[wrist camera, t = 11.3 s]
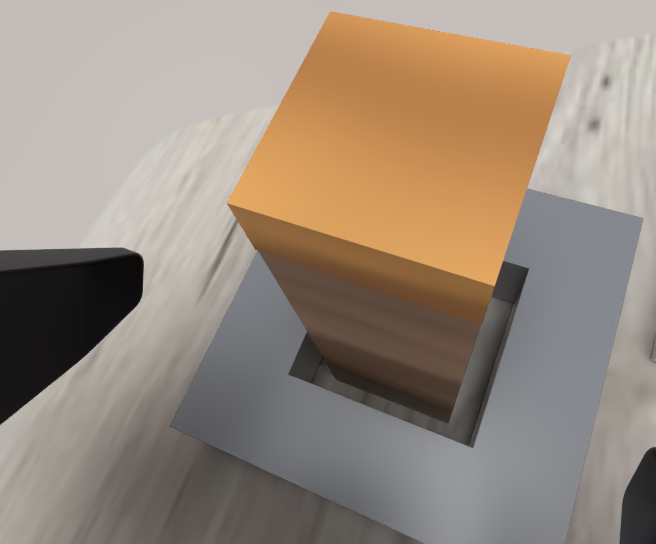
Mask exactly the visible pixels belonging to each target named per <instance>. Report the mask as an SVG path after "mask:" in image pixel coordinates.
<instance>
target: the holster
mask: <svg viewBox="0 0 656 544" xmlns="http://www.w3.org/2000/svg"><path fill="white" fill-rule="evenodd" d="M651 361H653V362H656V338H655V343H654V347H653V352H652V357H651Z"/></svg>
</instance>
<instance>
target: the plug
mask: <svg viewBox="0 0 656 544" xmlns="http://www.w3.org/2000/svg"><path fill="white" fill-rule="evenodd" d="M570 57H571V55H566V54H561V53H555V52H550V51H544V50H539V49H533V48H527V47H522V46H517V45H511V44H505V43H500V42H495V41H489V40H483V39H478V38H473V37H467V36H462V35H456V34H451V33H445V32H440V31H434V30H429V29H423V28H417V27H412V26H407V25H401V24H396V23H390V22H385V21H379V20H373V19H368V18H363V17H358V16H352V15H346V14H341V13H336V12H330V13H329V15H328V17H327V18H326V20H325V22H324V24H323V26H322V28H321V30H320V31H319V33H318V35H317V37H316V39H315V41H314V43H313V45H312V46H311V48H310V50H309V52H308V54H307V56H306V57H305V60H304V61H303V63H302V65H301V67H300V69H299V70H298V72H297V74H296V76H295V78H294V80H293V82H292V83H291V85H290V87H289V89H288V91H287V93H286V94H285V96H284V98H283V100H282V102H281V104H280V106H279V107H278V109H277V111H276V113H275V115H274V117H273V119H272V120H271V122H270V124H269V126H268V128H267V130H266V132H265V133H264V135H263V137H262V139H261V141H260V143H259V145H258V146H257V148H256V150H255V152H254V154H253V156H252V157H251V159H250V161H249V163H248V165H247V167H246V169H245V170H244V172H243V174H242V176H241V178H240V180H239V182H238V183H237V185H236V187H235V189H234V191H233V193H232V195H231V196H230V198H229V200H228V202H227V204H228V206H229V207H230V209H231V211H232V212H233V214H234V216H235V217H236V219H237V220H238V222H239V224H240V225H241V227H242V229H243V230H244V232H245V233H246V235H247V237H248V238H249V240H250V242H251V243H252V245H253V246H254V248H255V250H258V252H259V253H260V255H261V256H262V258H263V260H264V261H265V263H266V265H267V266H268V268H269V270H270V271H271V273H272V275H273V276H274V278H275V279H276V281H277V283H278V284H279V286H280V288H281V289H282V291H283V293H284V294H285V296H286V298H287V299H288V301H289V302H290V304H291V306H292V307H293V309H294V311H295V312H296V314H297V316H298V317H299V319H300V320H301V322H302V324H303V325H304V327H305V329H306V330H307V332H308V334H309V335H310V337H311V339H312V340H313V342H314V343H315V345H316V347H317V348H318V350H319V352H320V353H321V355H322V357H323V358H324V360H325V362H326V363H327V365H328V366H329V368H330V370H331V371H332V373H333V375H334V376H335V378H336V380H339V381H341V382H344V383H346V384H349V385H351V386H354V387H356V388H359V389H362V390H364V391H367V392H369V393H372V394H374V395H377V396H380V397H382V398H385V399H387V400H390V401H392V402H395V403H397V404H400V405H403V406H405V407H408V408H410V409H413V410H415V411H418V412H420V413H423V414H426V415H428V416H431V417H433V418H436V419H438V420H441V421H444V422H446V423H448V422H449V419H450V416H451V413H452V410H453V407H454V404H455V401H456V398H457V395H458V392H459V389H460V386H461V383H462V380H463V377H464V374H465V371H466V368H467V365H468V362H469V359H470V356H471V353H472V350H473V347H474V344H475V341H476V338H477V335H478V331H479V328H480V325H482V322H483V319H484V316H485V313H486V310H487V307H488V304H489V302H490V299H491V296H492V293H493V290H494V287H495V284H496V281H497V277H498V274H499V271H500V268H501V265H502V262H503V259H504V256H505V253H506V250H507V247H508V244H509V241H510V238H511V235H512V232H513V229H514V226H515V223H516V220H517V217H518V214H519V211H520V208H521V205H522V202H523V199H524V196H525V193H526V190H527V187H528V184H529V181H530V178H531V175H532V172H533V169H534V166H535V163H536V160H537V156H538V153H539V150H540V147H541V144H542V141H543V138H544V135H545V132H546V129H547V126H548V123H549V120H550V117H551V114H552V111H553V108H554V105H555V102H556V99H557V96H558V93H559V90H560V87H561V84H562V81H563V78H564V75H565V72H566V69H567V66H568V63H569V60H570Z"/></svg>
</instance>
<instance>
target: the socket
mask: <svg viewBox="0 0 656 544" xmlns="http://www.w3.org/2000/svg"><path fill="white" fill-rule="evenodd" d="M642 223H643V218H641V217H637V216H633V215H629V214H625V213H621V212H617V211H613V210H609V209H605V208H602V207H598V206H594V205H590V204H586V203H582V202H578V201H574V200H570V199H566V198H562V197H558V196H554V195H550V194H547V193H543V192H539V191H535V190H531V189H527V190H526V193H525V196H524V199H523V202H522V205H521V208H520V211H519V214H518V217H517V220H516V223H515V226H514V229H513V232H512V235H511V238H510V241H509V244H508V247H507V250H506V253H505V256H504V259H503V262H502V265H501V268H500V271H499V274H498V277H497V281H496V284H495V287H494V290H493V293H492V296H493V297H496V298H499V299H502V300H505V301H509V302H512V303H513V307H512V310H511V313H510V316H509V319H508V323H507V326H506V329H505V332H504V335H503V338H502V342H501V345H500V348H499V351H498V354H497V358H496V361H495V364H494V367H493V370H492V373H491V377H490V380H489V383H488V386H487V389H486V393H485V396H484V399H483V402H482V405H481V408H480V412H479V415H478V418H477V421H476V424H475V428H474V431H473V434H472V437H471V440H470V443H469V446H466V445H464V444H461V443H459V442H456V441H454V440H451V439H449V438H446V437H444V436H441V435H439V434H436V433H434V432H431V431H429V430H426V429H424V428H421V427H419V426H416V425H414V424H411V423H409V422H406V421H404V420H401V419H399V418H396V417H394V416H391V415H389V414H386V413H384V412H381V411H379V410H376V409H374V408H371V407H369V406H366V405H364V404H361V403H359V402H356V401H354V400H351V399H349V398H346V397H344V396H341V395H339V394H336V393H333V392H331V391H328V390H326V389H323V388H321V387H318V386H316V385H313V384H311V383H312V381H313V378H314V376H315V373H316V371H317V369H318V366H319V364H320V362H321V359H322V355H321V353H320V352H319V350H318V348H317V347H316V345H315V343H314V342H313V340H312V339H311V337H310V335H309V334H308V332H307V330H306V329H305V327H304V325H303V324H302V322H301V320H300V319H299V317H298V316H297V314H296V312H295V311H294V309H293V307H292V306H291V304H290V302H289V301H288V299H287V298H286V296H285V294H284V293H283V291H282V289H281V288H280V286H279V284H278V283H277V281H276V279H275V278H274V276H273V275H272V273H271V271H270V270H269V268H268V266H267V265H266V263H265V261H264V260H263V258H262V256H261V255H260V253H259V252H258V251H257V253H256V255H255V257H254V259H253V261H252V263H251V265H250V267H249V269H248V271H247V273H246V275H245V277H244V279H243V281H242V283H241V285H240V287H239V289H238V291H237V293H236V295H235V297H234V299H233V301H232V303H231V305H230V307H229V309H228V311H227V313H226V315H225V317H224V319H223V321H222V323H221V325H220V327H219V329H218V331H217V333H216V335H215V337H214V339H213V341H212V343H211V345H210V347H209V349H208V351H207V353H206V355H205V357H204V359H203V361H202V363H201V365H200V367H199V369H198V371H197V373H196V375H195V377H194V379H193V381H192V383H191V385H190V387H189V389H188V391H187V393H186V395H185V397H184V399H183V401H182V403H181V405H180V407H179V409H178V411H177V413H176V415H175V417H174V419H173V421H172V423H171V425H170V427H172V428H174V429H176V430H178V431H181V432H183V433H185V434H187V435H189V436H192V437H194V438H196V439H198V440H200V441H202V442H205V443H207V444H209V445H211V446H213V447H215V448H218V449H220V450H222V451H224V452H226V453H228V454H231V455H233V456H235V457H237V458H239V459H241V460H244V461H246V462H248V463H250V464H252V465H254V466H257V467H259V468H261V469H263V470H265V471H267V472H270V473H272V474H274V475H276V476H278V477H280V478H283V479H285V480H287V481H289V482H291V483H293V484H296V485H298V486H300V487H302V488H304V489H307V490H309V491H311V492H313V493H315V494H317V495H320V496H322V497H324V498H326V499H328V500H330V501H333V502H335V503H337V504H339V505H341V506H343V507H346V508H348V509H350V510H352V511H354V512H356V513H359V514H361V515H363V516H365V517H367V518H369V519H372V520H374V521H376V522H378V523H380V524H382V525H385V526H387V527H389V528H391V529H393V530H395V531H398V532H400V533H402V534H404V535H406V536H408V537H411V538H413V539H415V540H417V541H419V542H421V543H424V544H565V541H566V536H567V532H568V528H569V524H570V520H571V516H572V512H573V508H574V503H575V499H576V495H577V491H578V487H579V483H580V479H581V474H582V470H583V466H584V462H585V458H586V454H587V450H588V446H589V441H590V437H591V433H592V429H593V425H594V421H595V417H596V413H597V408H598V404H599V400H600V396H601V392H602V388H603V384H604V379H605V375H606V371H607V367H608V363H609V359H610V355H611V351H612V346H613V342H614V338H615V334H616V330H617V326H618V322H619V318H620V313H621V309H622V305H623V301H624V297H625V293H626V289H627V284H628V280H629V276H630V272H631V268H632V264H633V260H634V256H635V251H636V247H637V243H638V239H639V235H640V231H641V227H642Z"/></svg>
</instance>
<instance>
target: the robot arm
mask: <svg viewBox="0 0 656 544" xmlns="http://www.w3.org/2000/svg"><path fill="white" fill-rule="evenodd" d="M143 271H144V261H143V258H142V256H141V255H140V254H138V253H136V252H134V251H131V250H128V249H126V248H83V249H43V250H7V251H6V250H3V251H0V425H1V424H2V423H3V422H4V421H6V420H7V419H8V418H9V417H11V416H12V415H13V414H14V413H16V412H17V411H18V410H19V409H21V408H22V407H23V406H24V405H26V404H27V403H28V402H29V401H31V400H32V399H33V398H34V397H36V396H37V395H38V394H39V393H40V392H42V391H43V390H44V389H45V388H47V387H48V386H49V385H50V384H52V383H53V382H54V381H55V380H57V379H58V378H59V377H60V376H62V375H63V374H64V373H65V372H67V371H68V370H69V369H70V368H71V367H73V366H74V365H75V364H76V363H78V362H79V361H80V360H81V359H82V358H83V357H85V356H86V355H87V354H88V353H89V352H90V351H91V350H92V349H93V348H94V347H95V346H96V345H97V344H98V343H99V342H100V341H101V340H102V339H103V338H104V337H105V336H107V335H108V334H109V333H110V332H111V331H112V330H113V329H114V328H115V327H116V326H117V325H118V324H119V323H120V322H121V321H122V320H123V319H124V318H125V317H126V316H127V315H128V314H129V313H130V312H131V311H132V310H133V309H134V308H135V307H136V306H137V305H138V303H139V302H140V300H141V297H142V293H143ZM620 544H656V447H652V448H650V449H649V450H648V451H647V452H646V453H645V455H644V457H643V459H642V460H641V462H640V464H639V466H638V468H637V470H636V471H635V473H634V475H633V477H632V479H631V481H630V483H629V484H628V486H627V488H626V491H625V494H624V497H623V503H622V515H621V530H620Z"/></svg>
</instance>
